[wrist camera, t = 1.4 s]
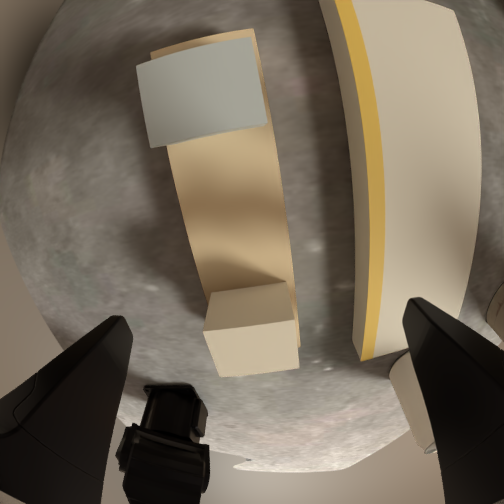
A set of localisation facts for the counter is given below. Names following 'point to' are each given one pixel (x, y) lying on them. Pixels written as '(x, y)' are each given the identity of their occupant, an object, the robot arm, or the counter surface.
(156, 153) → the counter surface
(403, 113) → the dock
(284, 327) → the cream block
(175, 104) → the light grey block
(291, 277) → the tan wooden block
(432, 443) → the can
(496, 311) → the thermos bottle
